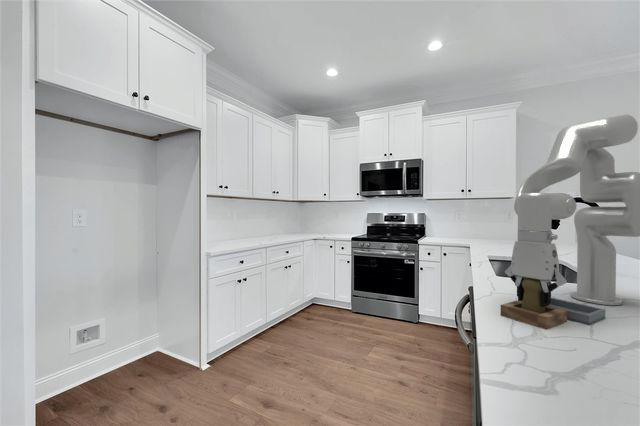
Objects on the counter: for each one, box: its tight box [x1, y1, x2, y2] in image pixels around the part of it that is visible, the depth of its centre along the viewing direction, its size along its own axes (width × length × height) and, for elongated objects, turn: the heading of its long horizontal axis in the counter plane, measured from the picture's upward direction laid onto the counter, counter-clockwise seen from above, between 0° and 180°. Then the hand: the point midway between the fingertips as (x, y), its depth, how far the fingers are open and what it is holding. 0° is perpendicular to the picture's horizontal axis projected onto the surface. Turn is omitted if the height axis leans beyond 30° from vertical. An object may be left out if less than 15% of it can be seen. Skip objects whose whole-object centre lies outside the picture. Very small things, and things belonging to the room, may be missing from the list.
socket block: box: [500, 300, 568, 330], centre depth 80 cm, size 11×11×3 cm
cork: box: [521, 278, 546, 314], centre depth 80 cm, size 6×6×11 cm
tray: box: [549, 297, 606, 326], centre depth 84 cm, size 11×13×2 cm
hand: (533, 302), depth 80 cm, fingers closed on cork, 4 cm apart
